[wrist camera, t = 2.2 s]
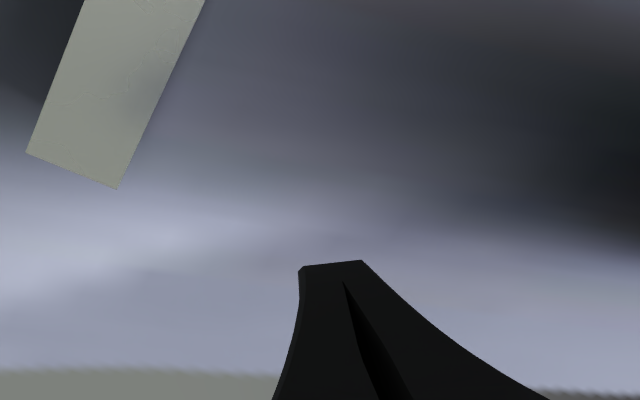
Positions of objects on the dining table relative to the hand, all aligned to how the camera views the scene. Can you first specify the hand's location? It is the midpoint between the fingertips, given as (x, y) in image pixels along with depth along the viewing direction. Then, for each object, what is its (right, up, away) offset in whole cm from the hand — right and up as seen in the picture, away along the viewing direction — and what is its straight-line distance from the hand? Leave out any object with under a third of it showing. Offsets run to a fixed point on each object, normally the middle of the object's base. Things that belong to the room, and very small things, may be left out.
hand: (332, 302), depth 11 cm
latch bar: (-5, +8, +4) cm, 11 cm away
